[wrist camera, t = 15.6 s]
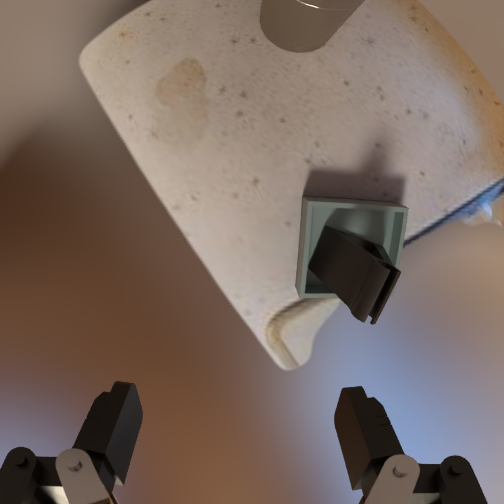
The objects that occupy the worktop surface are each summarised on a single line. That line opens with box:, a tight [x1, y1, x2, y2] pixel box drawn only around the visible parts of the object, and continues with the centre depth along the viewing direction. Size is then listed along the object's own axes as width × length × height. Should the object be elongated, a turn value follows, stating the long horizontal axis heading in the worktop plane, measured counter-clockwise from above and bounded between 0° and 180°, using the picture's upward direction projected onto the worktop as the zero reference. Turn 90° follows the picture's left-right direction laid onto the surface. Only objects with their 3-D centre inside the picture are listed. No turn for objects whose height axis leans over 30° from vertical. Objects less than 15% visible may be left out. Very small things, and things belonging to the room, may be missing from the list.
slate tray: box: [295, 196, 409, 298], centre depth 39 cm, size 12×13×4 cm
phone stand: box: [308, 225, 401, 325], centre depth 35 cm, size 9×6×12 cm, turn 71°
